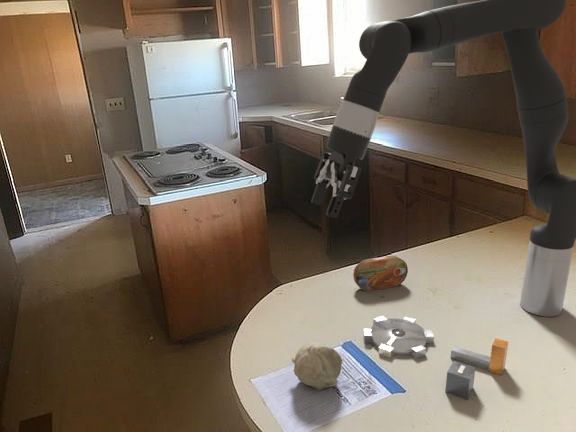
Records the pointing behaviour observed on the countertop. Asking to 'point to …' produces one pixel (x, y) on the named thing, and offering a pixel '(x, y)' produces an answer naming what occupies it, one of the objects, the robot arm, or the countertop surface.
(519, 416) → the countertop surface
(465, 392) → the grey cube with slot
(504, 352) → the drive pin
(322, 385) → the garlic bulb
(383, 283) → the tin
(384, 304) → the countertop surface
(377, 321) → the sprocket
